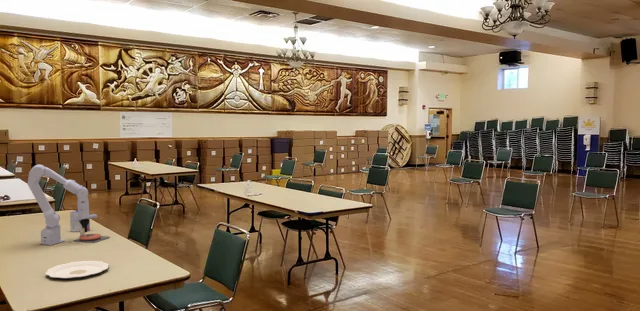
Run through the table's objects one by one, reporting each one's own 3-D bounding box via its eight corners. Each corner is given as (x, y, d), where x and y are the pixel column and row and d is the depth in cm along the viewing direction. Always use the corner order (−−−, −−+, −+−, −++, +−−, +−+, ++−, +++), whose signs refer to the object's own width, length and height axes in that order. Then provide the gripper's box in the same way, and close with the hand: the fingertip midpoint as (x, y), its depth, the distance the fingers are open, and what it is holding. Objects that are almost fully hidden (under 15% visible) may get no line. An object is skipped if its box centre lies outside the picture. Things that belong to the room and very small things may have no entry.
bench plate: (93, 243, 266) (93, 241, 266) (73, 241, 270) (73, 239, 270) (109, 237, 278) (109, 236, 278) (90, 236, 282) (90, 234, 282)
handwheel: (102, 235, 280) (102, 225, 279) (99, 239, 269) (98, 229, 269) (81, 236, 277) (81, 226, 276) (77, 240, 266) (77, 230, 266)
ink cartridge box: (90, 230, 299) (89, 207, 298) (86, 232, 293) (85, 208, 292) (74, 229, 299) (74, 206, 298) (70, 231, 293) (69, 208, 292)
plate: (92, 261, 232) (92, 257, 231) (119, 271, 216) (119, 267, 216) (36, 273, 212) (36, 269, 212) (60, 285, 196) (60, 281, 196)
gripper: (91, 206, 280) (93, 228, 281) (66, 210, 269) (68, 234, 270) (98, 207, 276) (99, 230, 277) (73, 211, 265) (74, 235, 266)
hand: (84, 232), depth 273 cm, fingers closed, pressing on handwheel
